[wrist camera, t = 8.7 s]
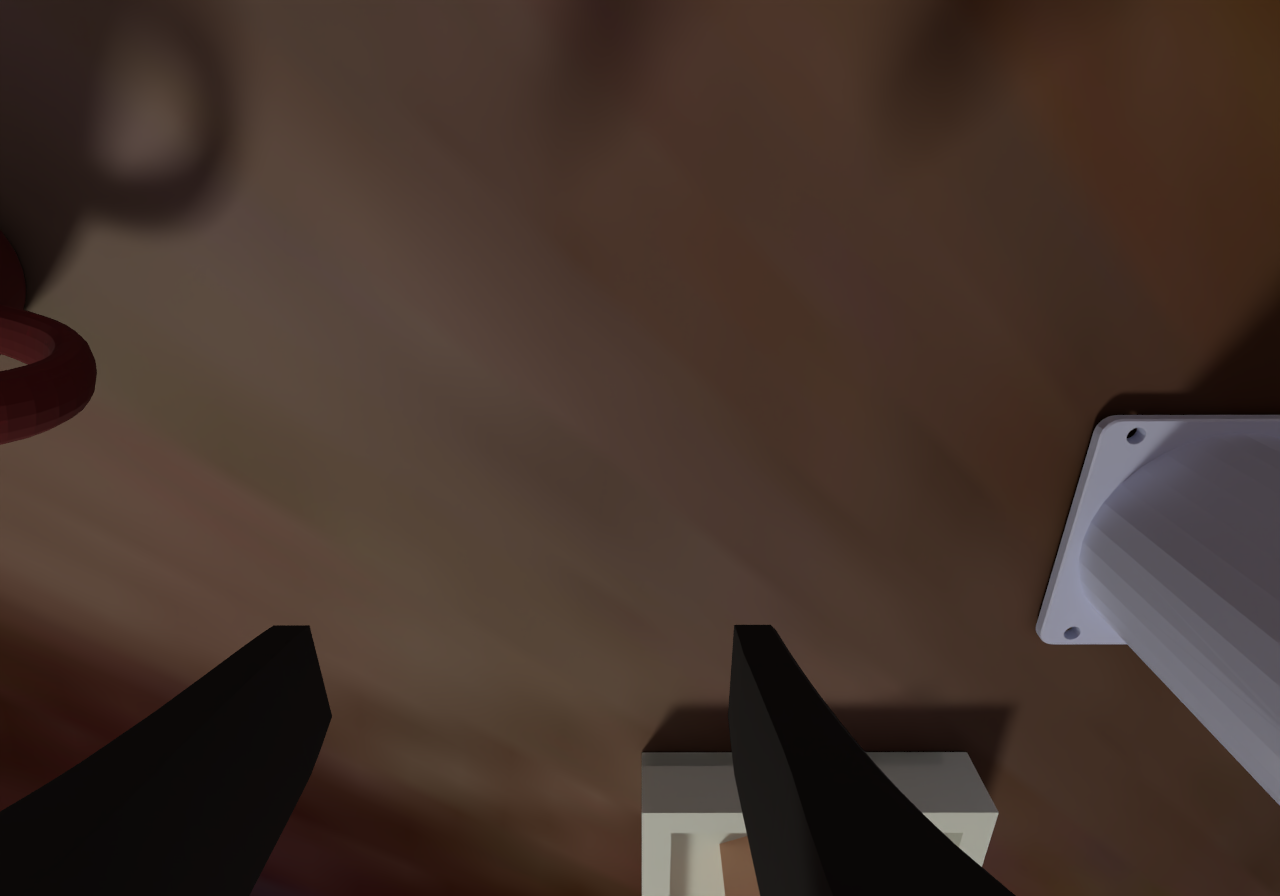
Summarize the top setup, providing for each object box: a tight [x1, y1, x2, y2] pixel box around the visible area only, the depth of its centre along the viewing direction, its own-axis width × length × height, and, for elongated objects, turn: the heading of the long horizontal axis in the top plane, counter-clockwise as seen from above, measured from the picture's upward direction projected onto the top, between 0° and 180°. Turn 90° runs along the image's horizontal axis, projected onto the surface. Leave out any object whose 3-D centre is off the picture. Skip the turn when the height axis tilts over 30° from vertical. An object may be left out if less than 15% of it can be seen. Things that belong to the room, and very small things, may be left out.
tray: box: [642, 752, 999, 896], centre depth 27 cm, size 12×11×2 cm
